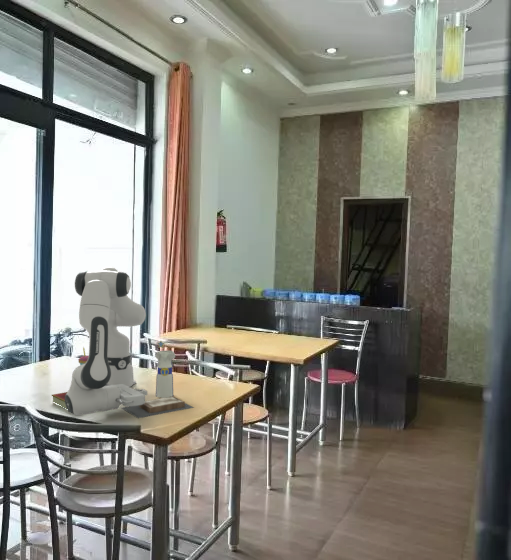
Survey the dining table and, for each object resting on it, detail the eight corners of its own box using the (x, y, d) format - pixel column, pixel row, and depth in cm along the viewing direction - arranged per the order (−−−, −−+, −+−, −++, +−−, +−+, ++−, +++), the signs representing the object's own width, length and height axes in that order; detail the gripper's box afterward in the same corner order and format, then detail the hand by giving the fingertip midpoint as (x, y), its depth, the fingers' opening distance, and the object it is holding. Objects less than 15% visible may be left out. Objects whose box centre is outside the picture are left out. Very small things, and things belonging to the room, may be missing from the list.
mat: (120, 408, 191) (120, 407, 191) (174, 399, 206) (174, 398, 206) (138, 419, 179) (138, 418, 179) (194, 408, 194) (194, 407, 194)
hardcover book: (79, 398, 206) (79, 389, 206) (103, 409, 192) (103, 399, 191) (51, 404, 198) (51, 394, 198) (74, 416, 183) (74, 404, 183)
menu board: (139, 401, 193) (172, 395, 202) (139, 407, 193) (172, 401, 202) (150, 407, 185) (184, 401, 194) (150, 413, 185) (184, 406, 194)
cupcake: (75, 369, 261) (75, 347, 261) (83, 366, 269) (83, 345, 269) (90, 370, 260) (90, 348, 259) (97, 367, 268) (97, 345, 268)
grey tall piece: (175, 398, 208) (175, 340, 207) (154, 399, 206) (155, 340, 206) (175, 393, 216) (175, 337, 215) (155, 393, 214) (156, 337, 214)
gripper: (122, 395, 172) (157, 389, 181) (101, 383, 188) (135, 378, 197) (122, 412, 173) (157, 406, 181) (101, 399, 189) (134, 394, 197)
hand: (145, 392), depth 189 cm, fingers closed
